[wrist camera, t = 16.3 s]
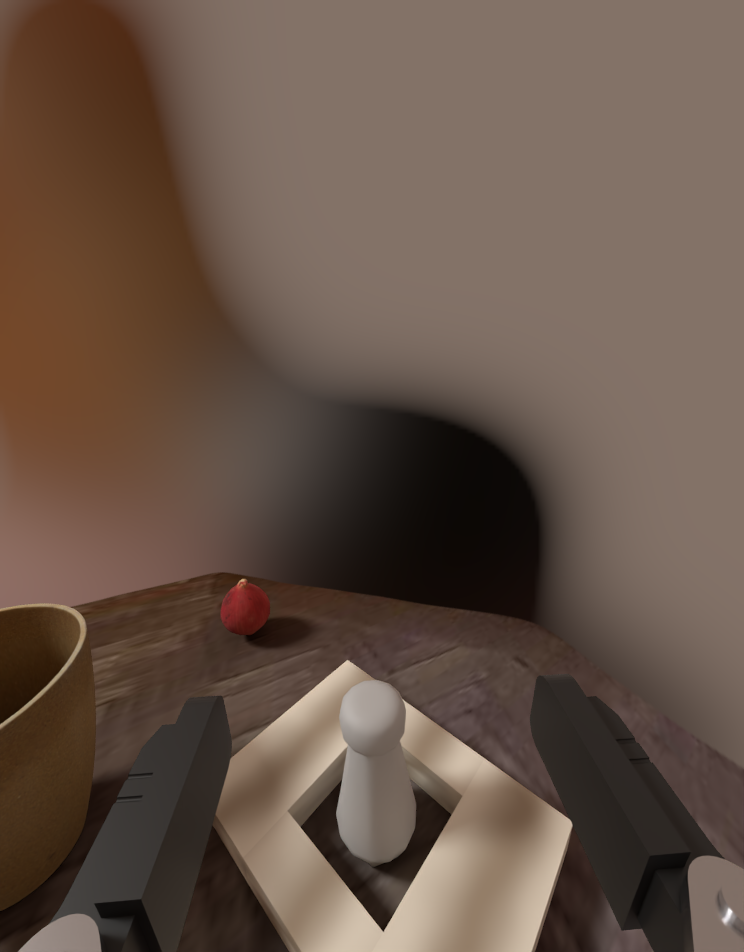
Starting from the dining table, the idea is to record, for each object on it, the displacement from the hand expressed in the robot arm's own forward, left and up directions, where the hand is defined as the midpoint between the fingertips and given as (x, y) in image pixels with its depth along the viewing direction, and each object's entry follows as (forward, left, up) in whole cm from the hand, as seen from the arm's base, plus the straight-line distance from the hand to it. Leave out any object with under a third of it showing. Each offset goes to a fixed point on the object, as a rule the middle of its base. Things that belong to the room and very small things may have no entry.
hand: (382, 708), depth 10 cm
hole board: (-8, +8, -25) cm, 28 cm away
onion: (-34, +13, -26) cm, 44 cm away
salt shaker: (-8, +8, -26) cm, 28 cm away
